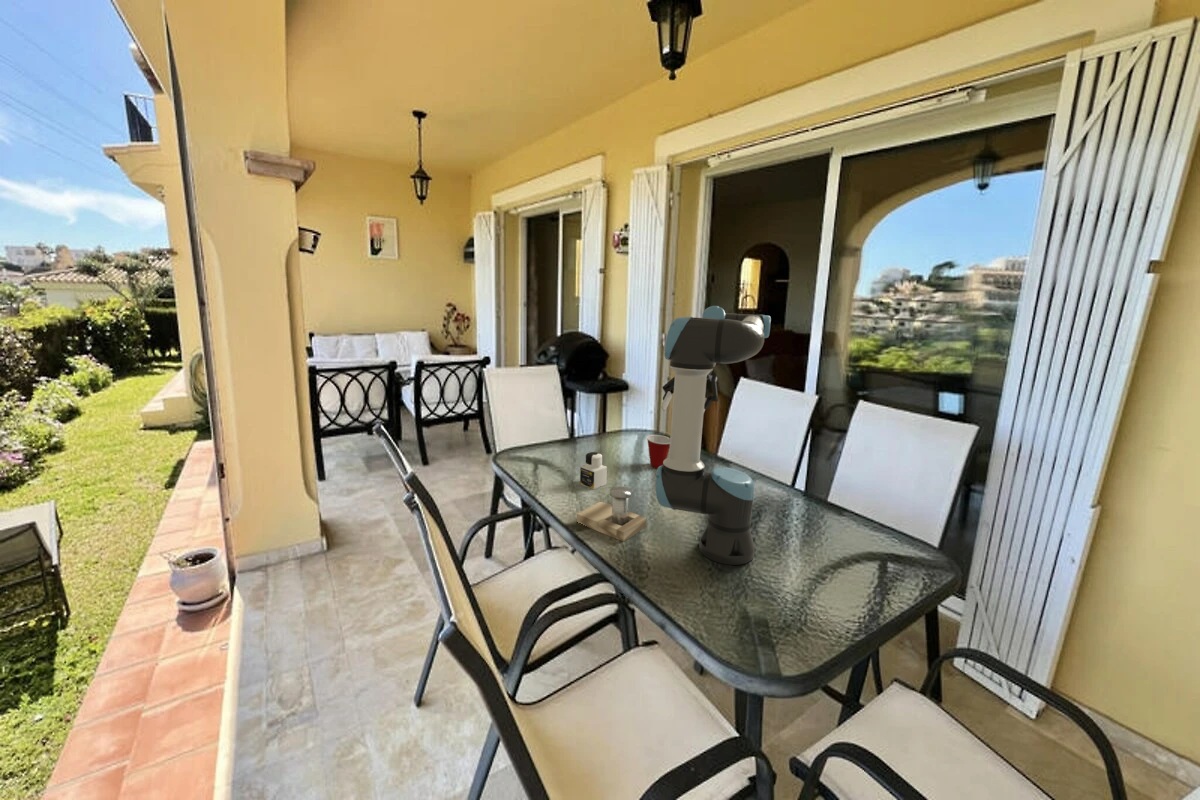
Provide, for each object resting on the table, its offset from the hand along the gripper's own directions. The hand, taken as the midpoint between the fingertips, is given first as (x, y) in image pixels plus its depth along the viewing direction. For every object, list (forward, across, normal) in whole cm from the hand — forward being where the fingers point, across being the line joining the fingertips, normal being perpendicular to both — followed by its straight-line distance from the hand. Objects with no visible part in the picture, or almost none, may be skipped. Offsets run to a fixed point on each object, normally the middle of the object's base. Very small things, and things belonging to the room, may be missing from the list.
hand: (680, 412), depth 166 cm
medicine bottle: (+28, +30, -17) cm, 44 cm away
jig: (+43, +6, -2) cm, 43 cm away
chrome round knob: (+43, +3, -2) cm, 43 cm away
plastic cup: (+5, +22, -40) cm, 46 cm away
